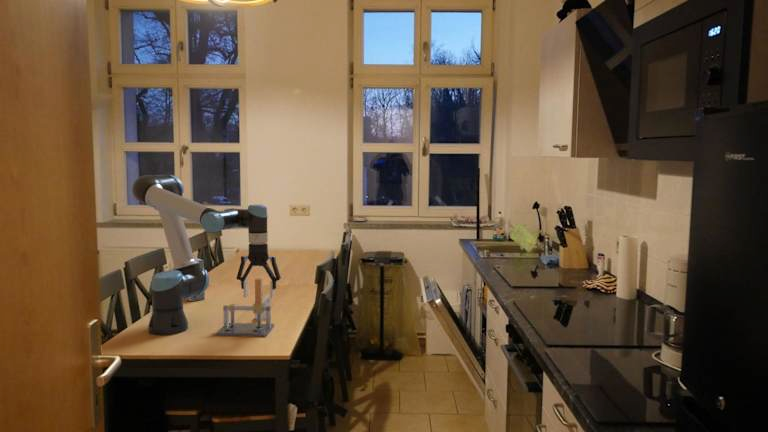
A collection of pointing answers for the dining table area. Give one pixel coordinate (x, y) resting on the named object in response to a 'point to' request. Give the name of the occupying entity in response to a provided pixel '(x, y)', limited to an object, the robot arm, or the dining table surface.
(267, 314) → the grey bracket frame
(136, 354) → the dining table surface
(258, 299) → the sliding leg
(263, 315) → the white wedge bracket
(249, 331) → the bolt plate
